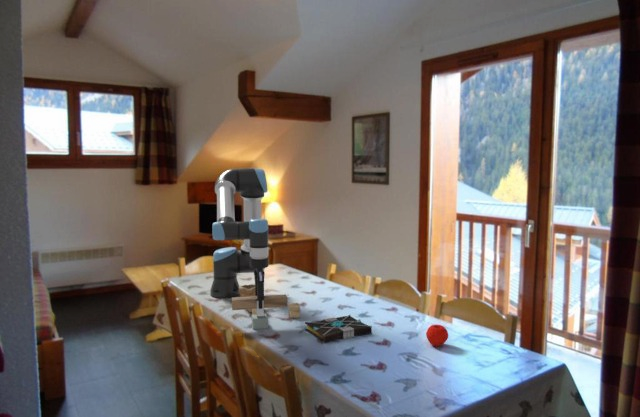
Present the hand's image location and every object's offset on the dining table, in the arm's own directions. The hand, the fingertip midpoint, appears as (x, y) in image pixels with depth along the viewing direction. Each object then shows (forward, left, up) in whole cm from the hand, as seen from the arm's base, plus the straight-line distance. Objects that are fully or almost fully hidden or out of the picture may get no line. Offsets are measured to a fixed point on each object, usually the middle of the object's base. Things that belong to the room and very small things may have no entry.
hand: (259, 313), depth 194 cm
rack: (-10, +8, -5) cm, 14 cm away
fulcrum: (0, 0, -5) cm, 5 cm away
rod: (0, 0, +3) cm, 3 cm away
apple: (+35, +61, -5) cm, 71 cm away
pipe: (-24, -2, -6) cm, 25 cm away
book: (+13, +29, -6) cm, 33 cm away
